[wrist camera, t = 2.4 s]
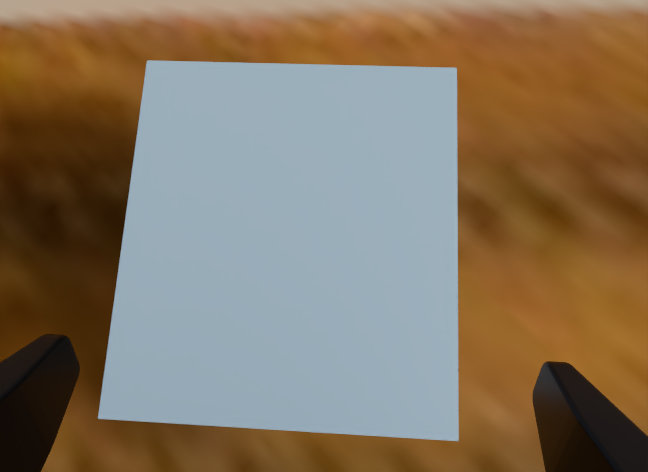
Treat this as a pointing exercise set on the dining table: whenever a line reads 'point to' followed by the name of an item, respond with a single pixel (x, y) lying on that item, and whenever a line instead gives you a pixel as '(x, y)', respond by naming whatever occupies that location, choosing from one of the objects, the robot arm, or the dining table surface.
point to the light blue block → (290, 251)
